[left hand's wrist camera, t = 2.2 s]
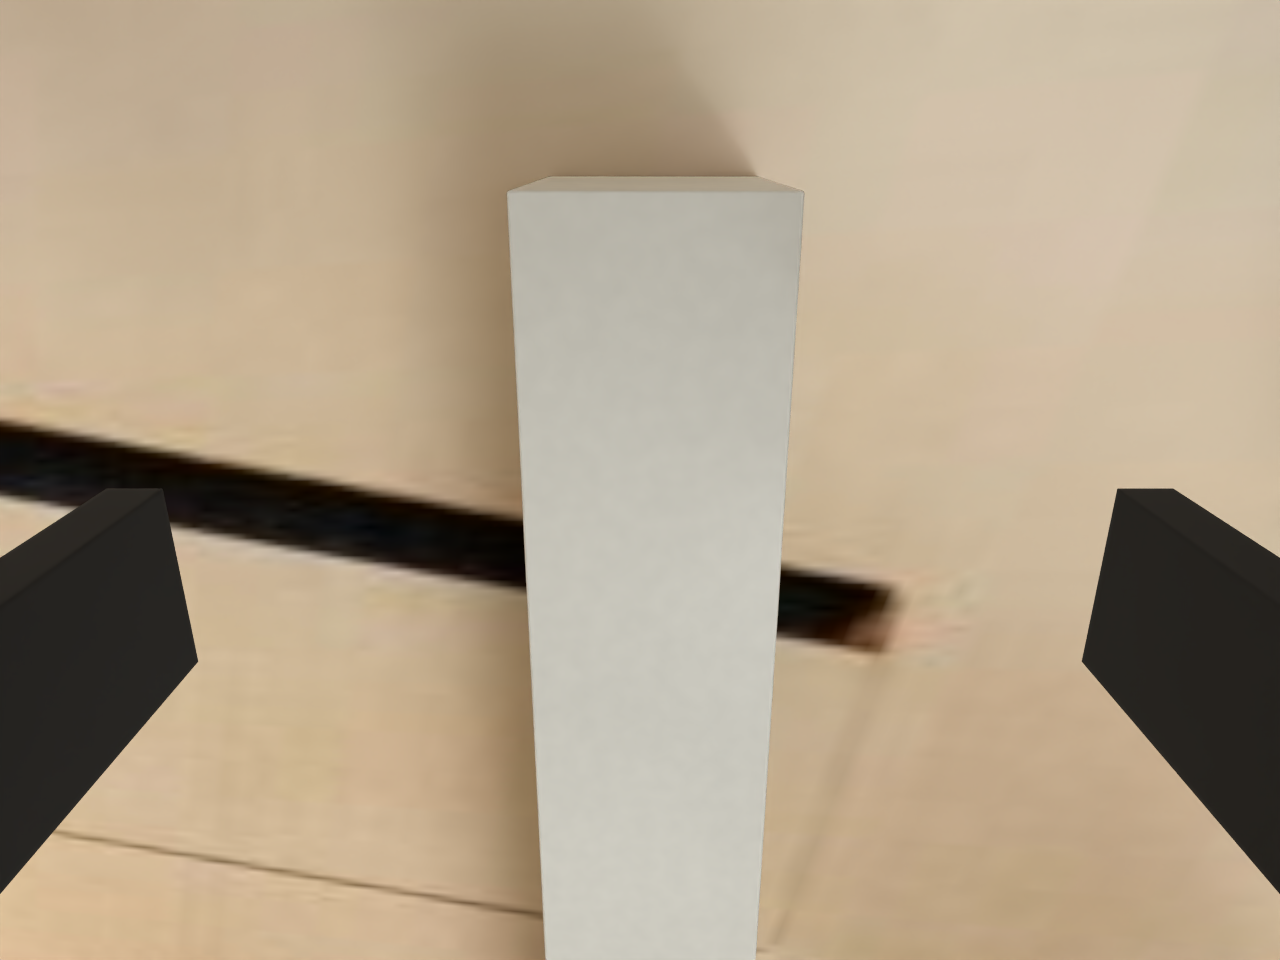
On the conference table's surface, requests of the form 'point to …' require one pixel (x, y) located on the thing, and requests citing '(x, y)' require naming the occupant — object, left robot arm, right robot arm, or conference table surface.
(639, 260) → the beam
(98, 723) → the left robot arm
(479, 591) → the conference table surface
